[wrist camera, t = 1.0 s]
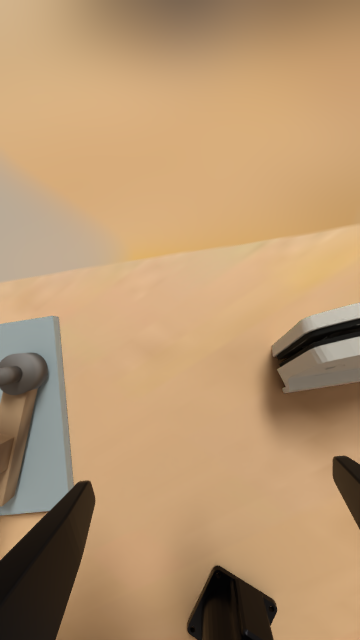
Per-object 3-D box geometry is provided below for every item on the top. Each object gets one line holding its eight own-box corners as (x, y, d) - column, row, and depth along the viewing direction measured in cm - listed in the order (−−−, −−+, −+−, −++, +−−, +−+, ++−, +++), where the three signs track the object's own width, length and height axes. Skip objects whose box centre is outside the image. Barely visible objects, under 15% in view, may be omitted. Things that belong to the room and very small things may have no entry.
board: (75, 501, 24) (69, 508, 23) (-46, 513, 25) (-57, 520, 24) (58, 316, 26) (53, 315, 25) (-54, 334, 27) (-63, 333, 26)
